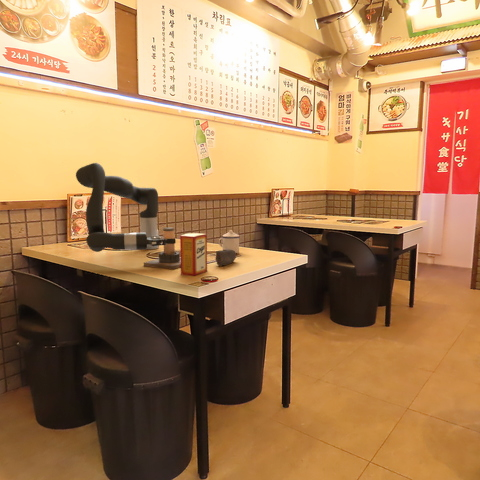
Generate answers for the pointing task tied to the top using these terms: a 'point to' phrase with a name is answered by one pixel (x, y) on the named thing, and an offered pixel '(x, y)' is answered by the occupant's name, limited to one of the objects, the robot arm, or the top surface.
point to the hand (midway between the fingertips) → (175, 240)
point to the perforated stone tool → (225, 257)
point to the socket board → (163, 265)
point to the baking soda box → (193, 253)
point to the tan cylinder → (169, 234)
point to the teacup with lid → (230, 241)
